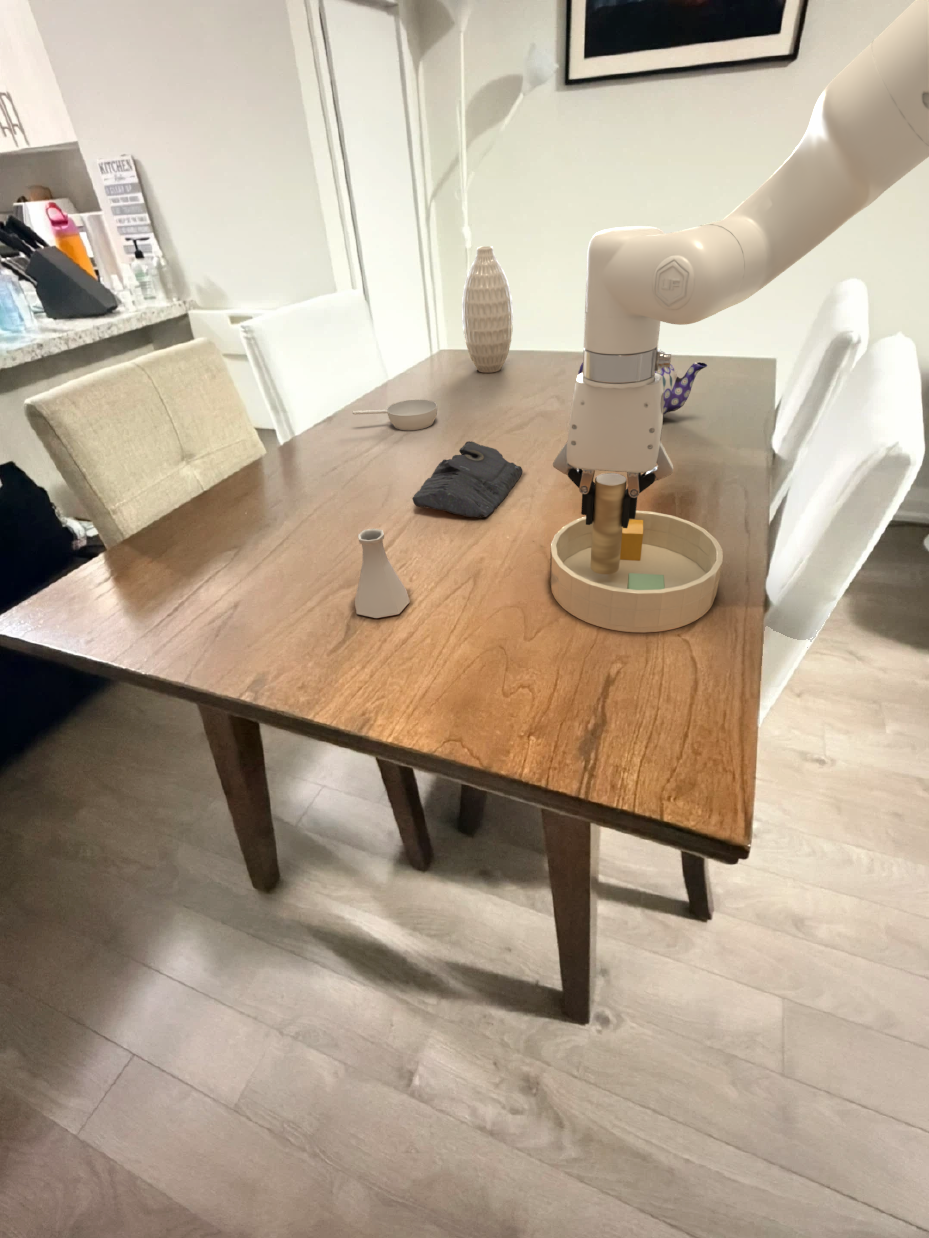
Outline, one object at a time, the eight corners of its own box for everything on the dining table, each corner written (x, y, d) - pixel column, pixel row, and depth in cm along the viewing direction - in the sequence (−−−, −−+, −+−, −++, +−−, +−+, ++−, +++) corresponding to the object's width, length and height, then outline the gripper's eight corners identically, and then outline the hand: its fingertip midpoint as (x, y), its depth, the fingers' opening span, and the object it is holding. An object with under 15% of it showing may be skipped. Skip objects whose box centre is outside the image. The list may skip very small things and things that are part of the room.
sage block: (660, 602, 77) (663, 574, 75) (661, 622, 74) (665, 593, 72) (625, 600, 78) (628, 572, 76) (625, 619, 75) (628, 591, 73)
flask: (414, 588, 85) (405, 520, 79) (405, 620, 79) (394, 549, 73) (361, 588, 86) (348, 520, 80) (348, 619, 80) (333, 549, 74)
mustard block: (640, 546, 89) (643, 519, 86) (640, 560, 85) (643, 534, 83) (610, 544, 89) (612, 518, 87) (609, 559, 86) (611, 532, 84)
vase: (523, 367, 170) (522, 244, 153) (492, 379, 162) (487, 251, 146) (486, 361, 177) (482, 243, 161) (455, 372, 170) (447, 250, 153)
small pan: (440, 429, 135) (439, 410, 132) (354, 438, 134) (351, 420, 131) (436, 413, 143) (434, 395, 141) (355, 421, 142) (352, 404, 140)
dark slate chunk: (397, 513, 103) (393, 486, 101) (447, 461, 120) (445, 436, 117) (487, 523, 99) (486, 495, 96) (527, 468, 115) (526, 442, 112)
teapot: (564, 423, 133) (566, 346, 124) (590, 400, 143) (593, 328, 135) (688, 437, 122) (700, 354, 113) (706, 411, 133) (718, 334, 124)
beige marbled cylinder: (620, 561, 83) (628, 473, 76) (617, 576, 80) (624, 486, 73) (592, 558, 84) (597, 472, 77) (588, 573, 81) (592, 484, 74)
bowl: (716, 553, 87) (722, 517, 84) (714, 643, 72) (722, 603, 68) (566, 539, 93) (567, 504, 90) (534, 620, 77) (534, 581, 74)
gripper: (703, 356, 68) (680, 513, 79) (548, 354, 73) (547, 503, 83) (701, 376, 62) (677, 542, 73) (533, 373, 67) (534, 529, 78)
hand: (608, 520), depth 78 cm, fingers closed on beige marbled cylinder, 3 cm apart
